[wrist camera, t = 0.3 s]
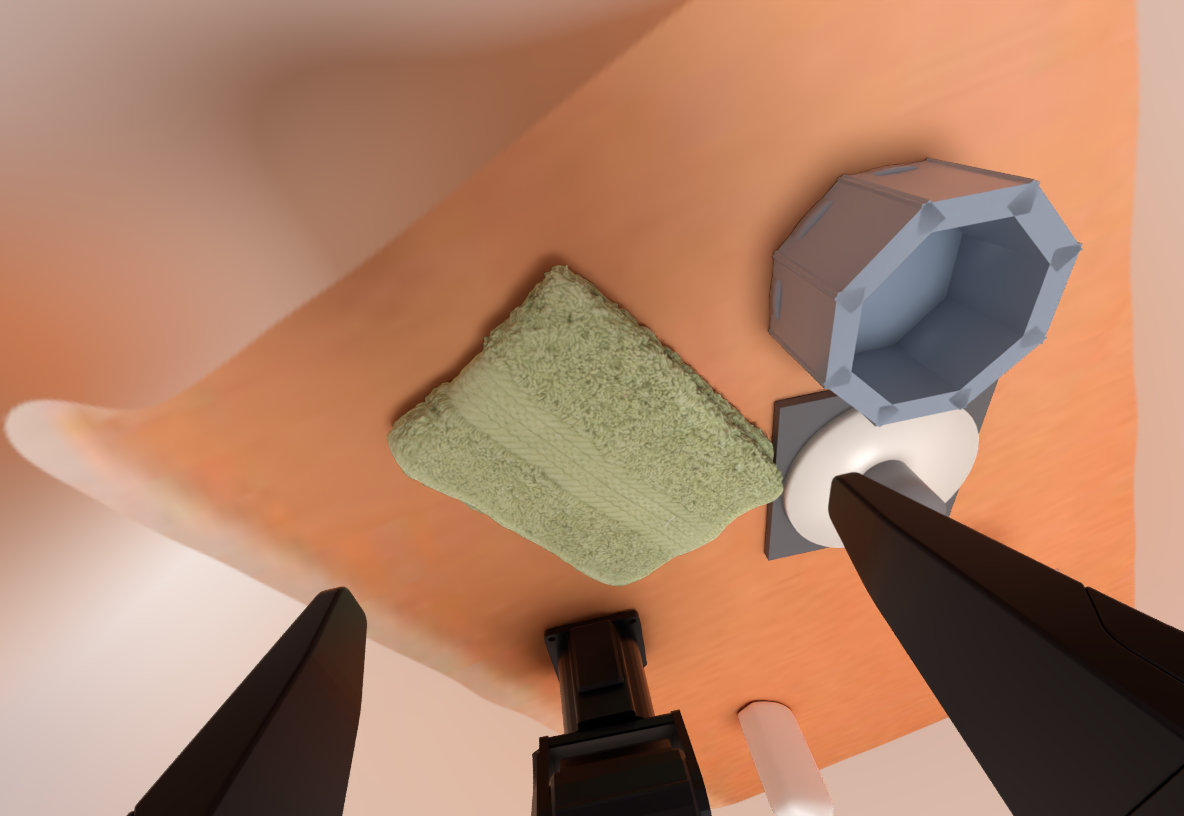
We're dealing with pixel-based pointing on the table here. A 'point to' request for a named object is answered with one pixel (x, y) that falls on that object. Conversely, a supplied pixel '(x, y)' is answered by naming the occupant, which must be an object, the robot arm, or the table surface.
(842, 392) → the bowl
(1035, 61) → the table surface
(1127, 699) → the robot arm
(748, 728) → the eye dropper bottle
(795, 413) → the mat
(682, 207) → the table surface
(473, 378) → the washcloth
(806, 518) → the lid
